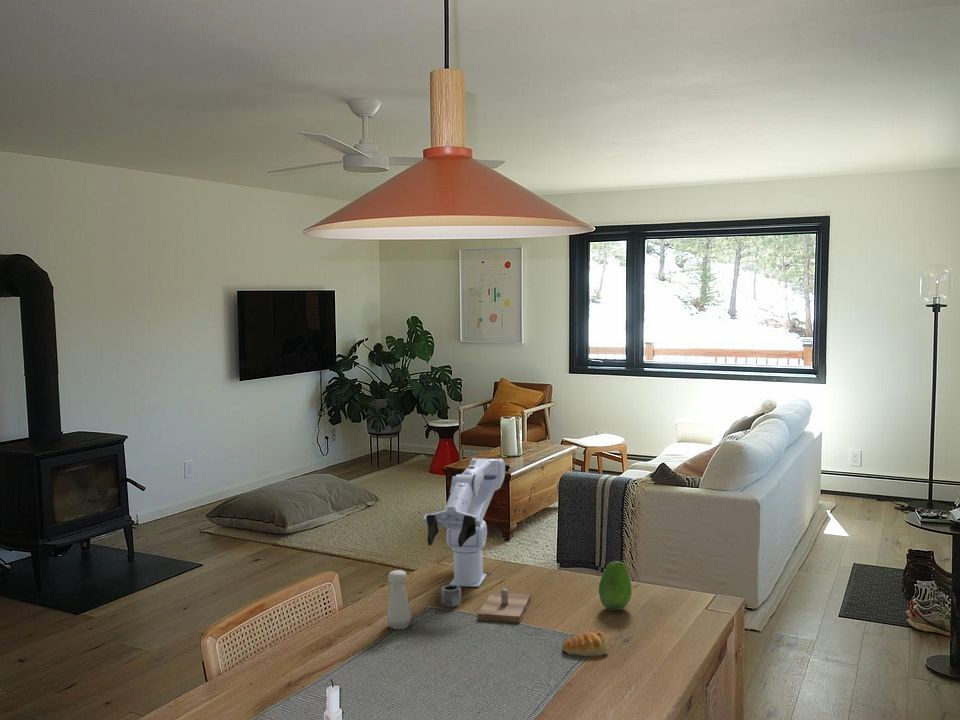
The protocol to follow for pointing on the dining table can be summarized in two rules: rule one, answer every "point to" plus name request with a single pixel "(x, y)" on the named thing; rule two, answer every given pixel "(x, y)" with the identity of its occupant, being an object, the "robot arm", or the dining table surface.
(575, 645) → the pastry
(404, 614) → the salt shaker
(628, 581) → the avocado
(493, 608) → the shaft block
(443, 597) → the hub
